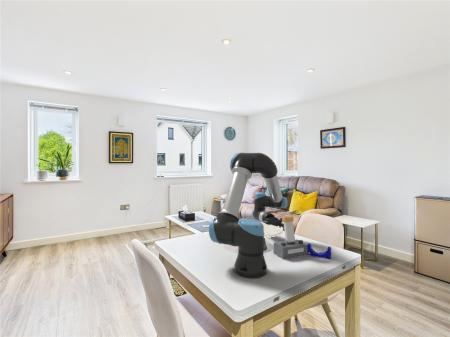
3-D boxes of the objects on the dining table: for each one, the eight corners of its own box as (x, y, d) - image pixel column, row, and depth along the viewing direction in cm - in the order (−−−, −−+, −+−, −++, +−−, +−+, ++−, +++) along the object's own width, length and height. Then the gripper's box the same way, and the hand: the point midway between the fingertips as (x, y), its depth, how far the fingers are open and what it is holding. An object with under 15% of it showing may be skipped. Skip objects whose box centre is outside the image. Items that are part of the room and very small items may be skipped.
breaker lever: (287, 243, 131) (284, 217, 133) (285, 243, 133) (282, 217, 136) (296, 242, 133) (293, 216, 135) (293, 242, 135) (290, 217, 138)
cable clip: (331, 257, 130) (331, 246, 130) (330, 260, 126) (330, 248, 126) (308, 252, 136) (308, 242, 136) (306, 255, 133) (306, 244, 132)
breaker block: (283, 259, 126) (283, 245, 125) (273, 253, 134) (273, 239, 134) (308, 255, 131) (308, 241, 131) (296, 249, 140) (297, 236, 140)
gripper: (275, 222, 161) (298, 232, 139) (258, 224, 156) (279, 234, 134) (275, 211, 160) (298, 219, 139) (258, 212, 156) (279, 221, 134)
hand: (289, 227), depth 136 cm, fingers closed
